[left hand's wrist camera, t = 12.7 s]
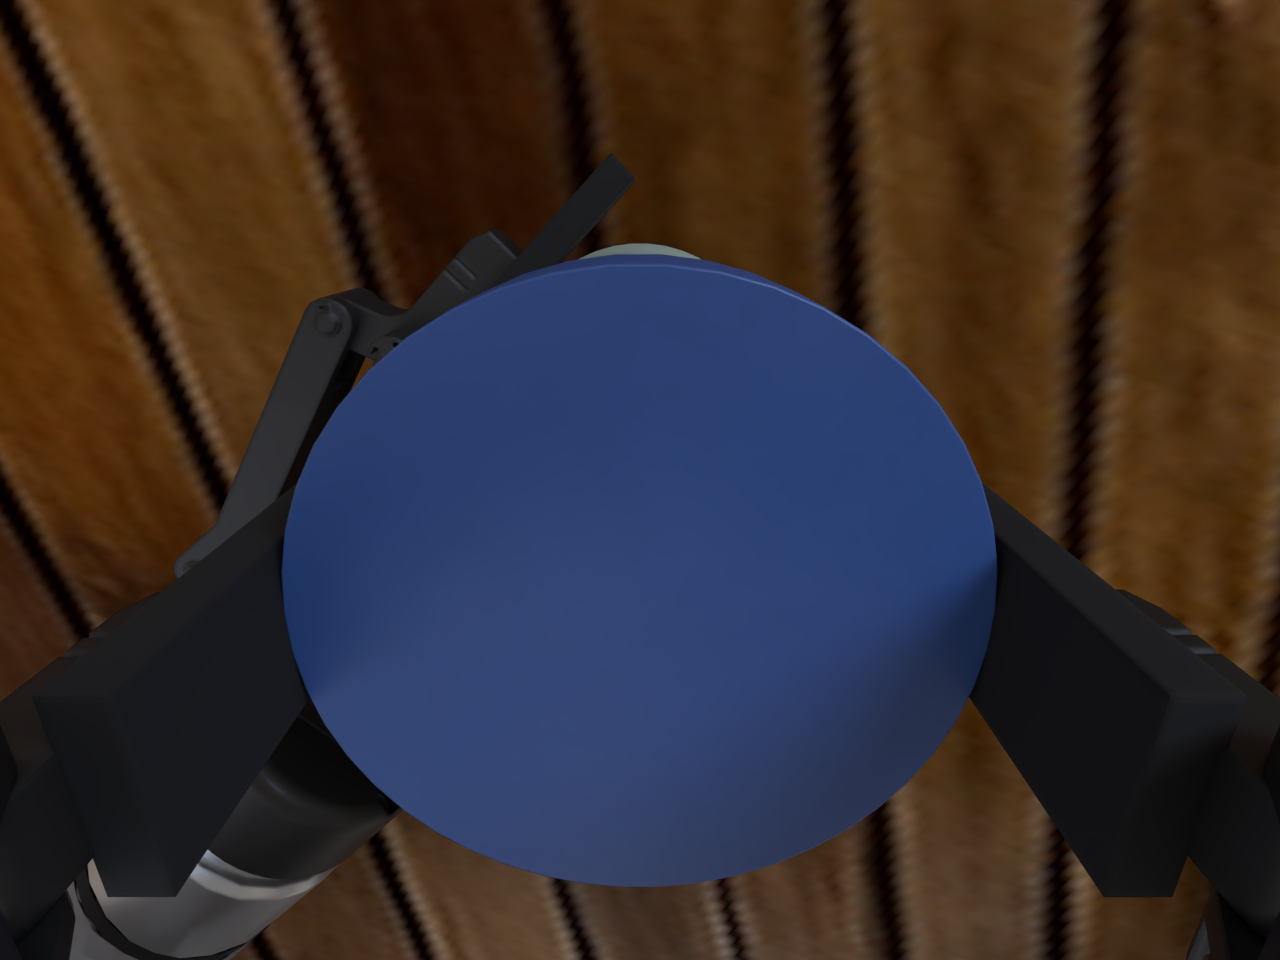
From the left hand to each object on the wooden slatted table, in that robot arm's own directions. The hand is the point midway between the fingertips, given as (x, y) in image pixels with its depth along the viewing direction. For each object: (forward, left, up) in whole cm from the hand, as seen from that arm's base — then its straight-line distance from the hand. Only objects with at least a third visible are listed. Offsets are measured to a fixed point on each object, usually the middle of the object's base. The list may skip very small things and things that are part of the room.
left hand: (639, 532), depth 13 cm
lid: (0, 0, +3) cm, 3 cm away
